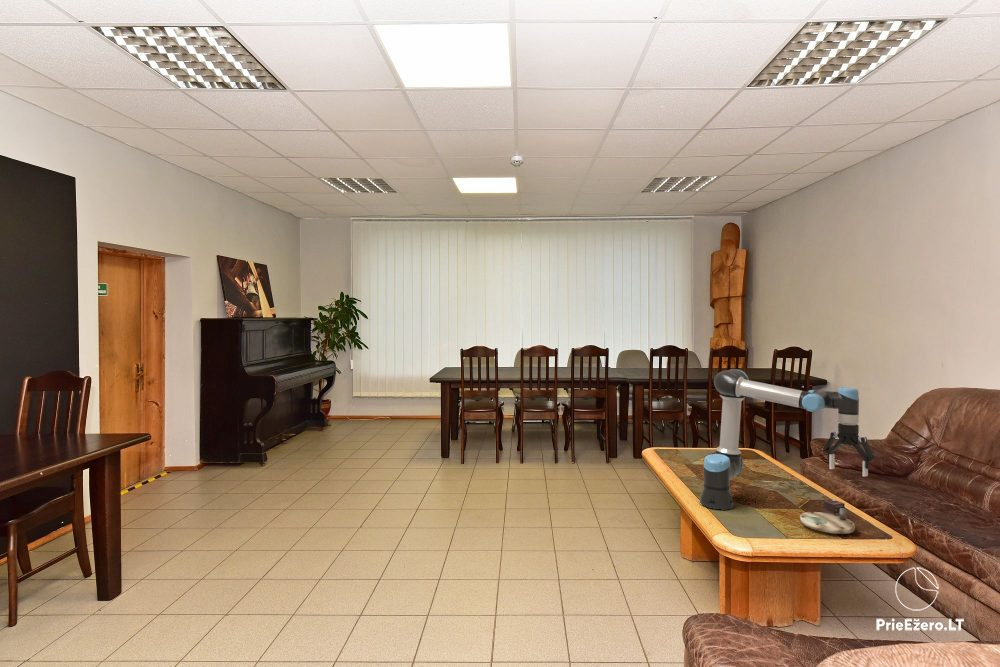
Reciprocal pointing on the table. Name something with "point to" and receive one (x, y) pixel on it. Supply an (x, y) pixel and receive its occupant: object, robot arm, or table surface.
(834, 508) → the box
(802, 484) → the table surface
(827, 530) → the turntable
